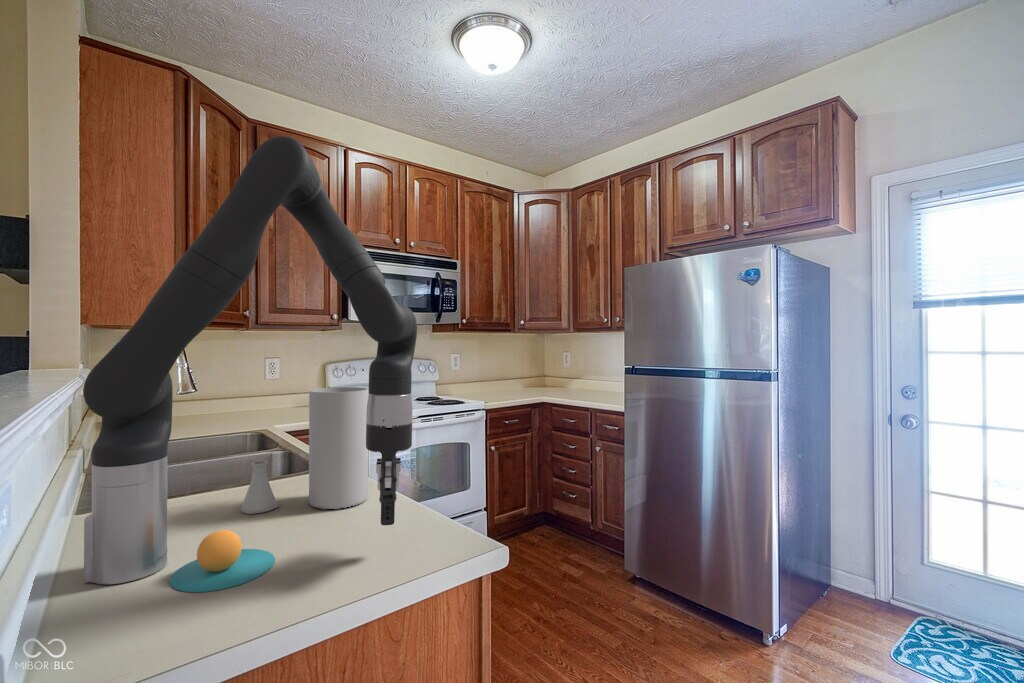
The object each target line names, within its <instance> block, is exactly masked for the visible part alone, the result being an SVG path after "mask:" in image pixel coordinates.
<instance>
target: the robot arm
mask: <svg viewBox="0 0 1024 683" xmlns="http://www.w3.org/2000/svg"><path fill="white" fill-rule="evenodd" d="M281 205H282V207H283V208H285V210H286V211H287V212H288V213H290V214H291V215H292V216H293V218H294V219H295V220H296V221H297V222H298V223H299V224H300V225H301V226H302V228H303V229H304V230H305V232H306V233H307V234H308V236H309V238H310V239H311V241H312V242H313V244H314V246H315V247H316V250H317V251H318V253H319V255H320V256H321V259H322V260H323V262H324V264H325V265H326V267H327V269H328V270H329V272H330V273H331V275H332V277H334V279H335V281H336V282H337V284H338V285H339V286H340V288H341V289H342V291H343V292H344V293H345V295H346V296H347V297H348V299H349V302H350V305H351V307H352V309H353V311H354V314H355V315H356V318H357V320H358V322H359V324H360V326H361V328H362V329H363V330H364V331H365V333H366V334H367V335H368V336H369V337H370V338H371V339H372V340H374V341H376V342H377V349H376V351H377V352H376V356H375V359H374V360H372V361H371V362H370V365H369V370H368V389H369V394H368V402H367V415H366V448H367V449H368V452H374V453H380V454H381V458H376V467H375V468H376V472H375V473H376V474H377V490H378V491H379V498H378V499H379V500H378V501H379V502H380V525H381V526H392V525H394V524H395V511H396V510H395V509H396V508H395V507H396V506H395V505H396V501H397V490H399V487H400V473H401V466H402V461H401V459H402V458H401V457H397V456H396V455H397V453H398V452H404V451H408V450H409V449H410V448H411V447H412V446H413V400H412V365H413V364H412V363H413V360H414V355H415V349H416V345H417V344H416V343H417V336H418V323H417V317H416V315H415V313H414V312H413V311H412V309H411V308H409V307H408V306H406V305H404V304H401V303H398V302H397V301H396V300H395V298H394V297H393V295H392V294H391V293H390V291H389V289H388V288H387V286H386V279H385V276H384V274H383V273H382V271H381V269H380V268H379V267H378V265H377V263H376V262H375V260H374V259H373V258H372V256H371V255H370V253H369V252H368V251H367V250H366V248H365V247H364V245H363V244H362V243H361V242H360V240H359V239H358V238H357V237H356V236H355V234H354V233H353V232H352V231H351V230H350V228H349V227H348V226H347V225H346V224H345V222H344V221H343V220H342V219H341V217H340V216H339V214H338V213H337V211H336V210H335V208H334V205H333V204H332V202H331V200H330V198H329V196H328V194H327V192H326V190H325V188H324V185H323V183H322V181H321V178H320V174H319V171H318V169H317V167H316V165H315V164H314V161H313V160H312V158H311V156H310V154H309V153H308V151H307V149H305V147H304V145H302V144H301V143H300V141H298V140H297V139H295V138H293V137H290V136H287V135H278V136H274V137H272V138H268V139H267V140H265V141H264V142H262V143H261V144H260V145H259V146H258V147H257V148H256V149H255V151H254V152H253V153H252V155H251V156H250V158H249V159H248V161H247V162H246V164H245V166H244V168H243V170H242V171H241V173H240V175H239V177H238V178H237V180H236V182H235V184H234V185H233V187H232V189H231V190H230V192H229V194H228V195H227V197H226V198H225V200H224V201H223V202H222V204H221V205H220V206H219V207H218V209H217V210H216V212H215V213H214V214H213V216H212V217H211V219H210V220H209V222H208V223H207V224H206V226H205V227H204V228H203V230H202V231H201V232H200V234H199V235H198V236H197V238H196V239H195V240H193V242H192V243H191V245H190V246H189V247H188V249H186V251H185V252H184V253H183V255H182V256H181V257H180V259H179V260H178V261H177V263H176V265H175V266H174V267H173V268H172V270H171V271H170V273H169V274H168V275H167V277H166V279H165V280H164V281H163V283H162V284H161V286H160V287H159V288H158V289H157V291H156V293H155V294H154V295H153V297H152V298H151V299H150V301H149V303H147V306H146V307H145V308H144V310H143V312H142V314H141V315H140V317H139V318H138V319H137V320H136V322H135V323H134V324H133V325H132V327H130V328H129V330H128V331H127V332H126V333H125V334H124V336H122V337H121V338H120V340H119V341H118V342H117V343H116V344H115V345H114V346H113V347H111V349H110V350H109V351H108V352H107V353H106V354H105V355H104V356H103V357H102V358H101V359H100V360H99V362H98V363H96V364H95V365H94V367H93V368H92V369H91V370H90V372H89V373H88V375H87V377H86V378H85V380H84V384H83V389H82V390H83V392H82V393H83V394H82V395H83V398H84V402H85V404H86V406H87V407H88V409H89V410H91V412H93V413H94V414H95V415H98V416H99V417H101V427H100V432H99V434H98V437H97V438H96V440H95V443H94V444H93V445H92V448H91V513H90V514H89V515H87V516H86V517H85V518H84V520H83V531H84V532H83V583H84V584H85V583H86V584H87V583H93V584H94V583H95V584H97V585H116V584H123V583H128V582H131V581H136V580H140V579H143V578H146V577H149V576H150V575H152V574H154V573H157V572H159V571H160V570H162V569H163V568H165V566H166V565H167V563H168V448H169V441H170V438H171V435H172V434H171V433H172V424H173V423H172V422H173V398H174V397H173V396H174V395H173V393H174V392H173V391H174V390H173V380H172V377H171V374H170V371H171V369H172V368H173V367H174V364H175V363H176V362H177V360H178V358H180V356H181V354H182V353H183V352H184V350H185V349H186V347H187V346H189V344H190V343H191V342H192V341H193V340H194V339H195V338H196V337H197V336H199V335H200V333H201V332H202V331H203V330H204V329H206V328H207V327H208V326H209V325H210V324H211V323H213V321H214V320H215V319H216V318H218V316H219V315H221V313H223V311H224V310H225V309H226V308H228V306H229V305H230V304H231V303H232V301H233V300H234V298H235V297H236V296H237V294H238V293H239V292H240V290H241V289H242V287H243V286H244V284H245V283H246V282H247V280H248V279H249V277H250V275H251V274H252V272H253V270H254V266H255V265H256V261H257V258H258V254H259V250H260V247H261V242H262V239H263V236H264V233H265V229H266V228H267V225H268V223H269V221H270V219H271V218H272V216H273V215H274V213H275V212H276V211H277V209H278V208H279V207H280V206H281Z"/></svg>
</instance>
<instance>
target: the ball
mask: <svg viewBox="0 0 1024 683" xmlns="http://www.w3.org/2000/svg"><path fill="white" fill-rule="evenodd" d="M242 544H243V543H242V541H241V538H240V536H239V535H238V534H237V533H235V532H234V531H231V530H228V529H219V530H216V531H213V532H211V533H209V534H208V535H207V536H205V537H204V538H203V539H202V541H201V542H200V544H199V545H198V548H197V550H196V560H198V563H199V564H200V566H201V567H202V568H203V569H205V570H207V571H210V572H219V571H223V570H225V569H227V568H229V567H231V566H232V565H233V564H234V563H235V562H236V561H237V559H238V558H239V556H240V554H241V550H242V549H243V545H242Z"/></svg>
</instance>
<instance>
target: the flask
mask: <svg viewBox="0 0 1024 683" xmlns="http://www.w3.org/2000/svg"><path fill="white" fill-rule="evenodd" d="M268 465H269V462H268V460H257V461H256V460H255V461H253V462H252V461H251V466H252V474H251V480H250V483H249V486H248V489H247V492H246V494H245V497H244V499H243V501H242V503H241V507H240V512H241V513H243V514H249V515H254V514H261V513H266V512H269V511H273V510H274V508H275V509H277V507H278V508H279V505H278V503H277V500H276V497H275V495H274V492H273V490H272V487H271V484H270V481H269V477H268V473H267V472H268V471H267V469H268V468H267V466H268Z"/></svg>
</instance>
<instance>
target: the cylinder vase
mask: <svg viewBox="0 0 1024 683" xmlns="http://www.w3.org/2000/svg"><path fill="white" fill-rule="evenodd" d="M308 393H309V394H308V395H309V396H308V413H309V414H308V421H309V422H308V503H309V505H311V506H312V507H313V508H315V509H318V508H319V509H320V510H326V509H334V510H342V509H341V508H344V509H348V508H347V507H349V508H352V507H351V506H353V507H356V506H359V505H361V504H363V503H364V502H365V501H367V500H368V497H369V450H368V449H367V448H366V415H367V402H368V394H369V387H368V388H367V387H359V386H358V387H357V386H353V387H352V386H342V387H341V386H339V387H338V386H337V387H336V386H335V387H320V388H313V389H312V388H311V389H310V390H309V391H308ZM358 504H359V505H358ZM355 505H356V506H355ZM319 509H318V510H319Z"/></svg>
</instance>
